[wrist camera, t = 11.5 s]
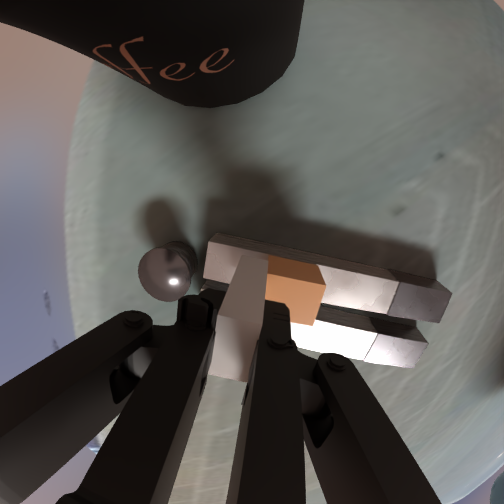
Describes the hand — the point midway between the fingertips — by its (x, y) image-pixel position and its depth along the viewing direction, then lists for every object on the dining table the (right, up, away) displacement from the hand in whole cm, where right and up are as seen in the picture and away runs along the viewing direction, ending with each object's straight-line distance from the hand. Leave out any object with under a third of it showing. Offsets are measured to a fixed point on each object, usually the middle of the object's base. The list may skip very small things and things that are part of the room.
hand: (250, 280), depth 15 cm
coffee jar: (-2, +16, 0) cm, 16 cm away
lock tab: (+2, 0, +1) cm, 3 cm away
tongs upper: (+5, -4, +5) cm, 8 cm away
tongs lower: (+4, -1, +4) cm, 5 cm away
